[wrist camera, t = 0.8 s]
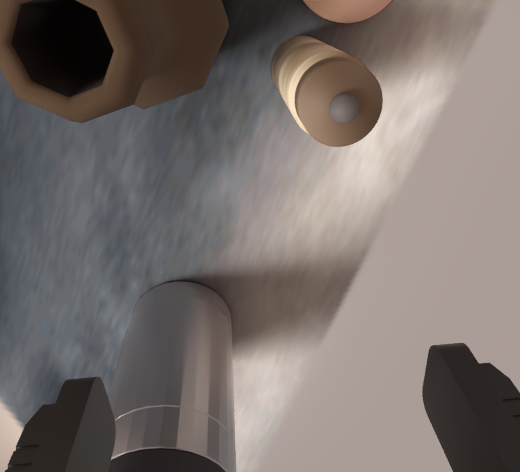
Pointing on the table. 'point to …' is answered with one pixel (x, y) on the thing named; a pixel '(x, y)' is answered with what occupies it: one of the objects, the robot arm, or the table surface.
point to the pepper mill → (326, 90)
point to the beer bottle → (107, 52)
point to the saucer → (346, 9)
